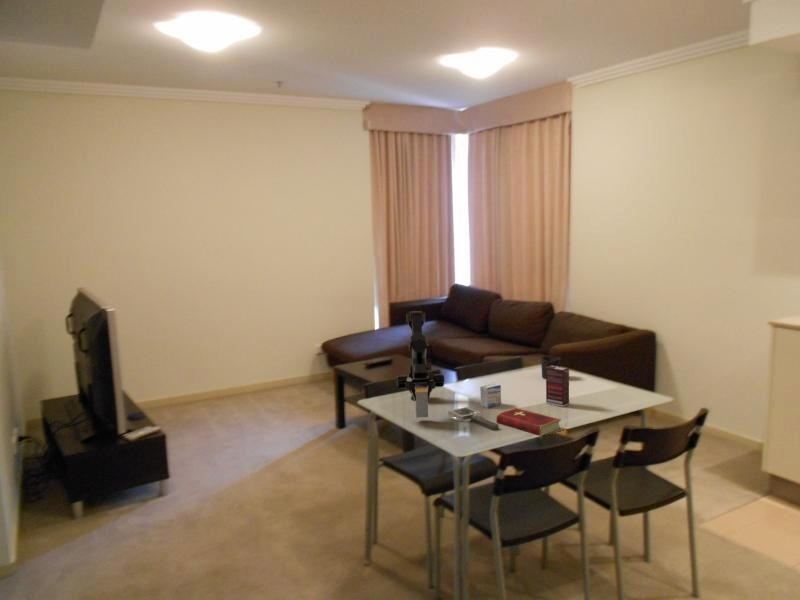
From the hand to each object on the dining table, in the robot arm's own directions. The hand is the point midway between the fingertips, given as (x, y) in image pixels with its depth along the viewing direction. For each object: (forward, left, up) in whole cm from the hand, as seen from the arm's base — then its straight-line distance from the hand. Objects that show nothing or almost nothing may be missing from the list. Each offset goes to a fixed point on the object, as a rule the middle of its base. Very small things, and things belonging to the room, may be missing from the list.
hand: (421, 400), depth 237 cm
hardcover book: (+5, +40, -10) cm, 42 cm away
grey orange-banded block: (-1, 0, -7) cm, 7 cm away
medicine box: (-21, +29, -9) cm, 37 cm away
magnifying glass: (-1, +21, -9) cm, 22 cm away
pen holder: (-65, +63, -9) cm, 91 cm away
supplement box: (-21, +57, -9) cm, 62 cm away
